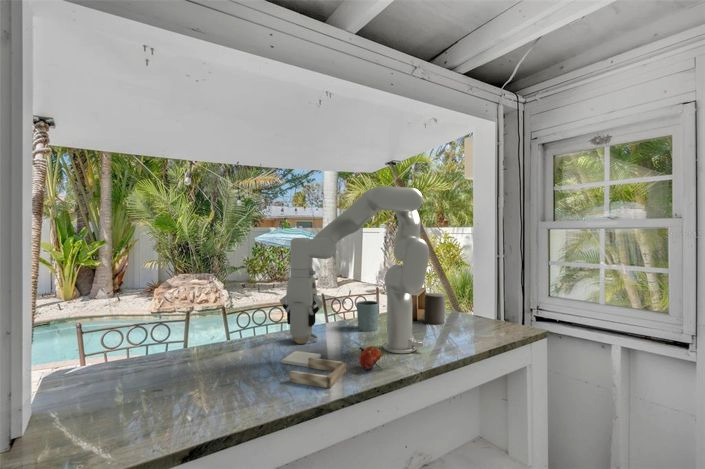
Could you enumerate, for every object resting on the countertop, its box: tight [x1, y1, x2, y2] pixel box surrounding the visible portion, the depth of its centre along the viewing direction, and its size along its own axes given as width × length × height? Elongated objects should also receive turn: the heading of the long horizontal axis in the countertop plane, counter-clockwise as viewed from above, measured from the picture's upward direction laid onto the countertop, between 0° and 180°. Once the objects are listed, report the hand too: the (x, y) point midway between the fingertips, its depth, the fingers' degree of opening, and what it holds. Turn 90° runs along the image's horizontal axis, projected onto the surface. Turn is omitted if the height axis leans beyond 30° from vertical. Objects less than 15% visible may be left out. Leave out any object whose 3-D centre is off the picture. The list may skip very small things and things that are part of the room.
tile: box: [280, 350, 322, 368], centre depth 128 cm, size 10×10×1 cm
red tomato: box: [358, 345, 383, 371], centre depth 120 cm, size 7×7×10 cm
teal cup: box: [356, 300, 379, 332], centre depth 168 cm, size 10×10×12 cm
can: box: [289, 302, 313, 338], centre depth 128 cm, size 8×8×12 cm
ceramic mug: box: [291, 332, 319, 345], centre depth 149 cm, size 11×8×8 cm
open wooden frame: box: [289, 358, 348, 389], centre depth 113 cm, size 13×13×3 cm
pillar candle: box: [423, 291, 446, 326], centre depth 180 cm, size 10×10×15 cm
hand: (301, 324), depth 128 cm, fingers closed on can, 7 cm apart
